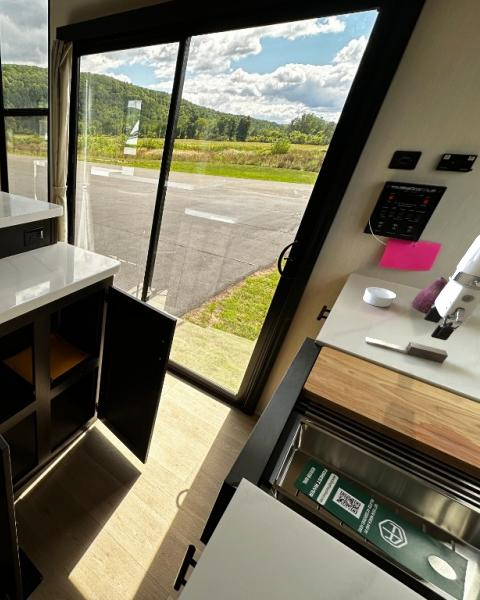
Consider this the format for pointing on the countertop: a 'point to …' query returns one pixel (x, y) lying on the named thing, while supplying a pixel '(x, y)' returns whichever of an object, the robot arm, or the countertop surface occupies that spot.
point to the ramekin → (379, 296)
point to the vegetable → (429, 295)
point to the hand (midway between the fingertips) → (434, 329)
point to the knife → (413, 350)
